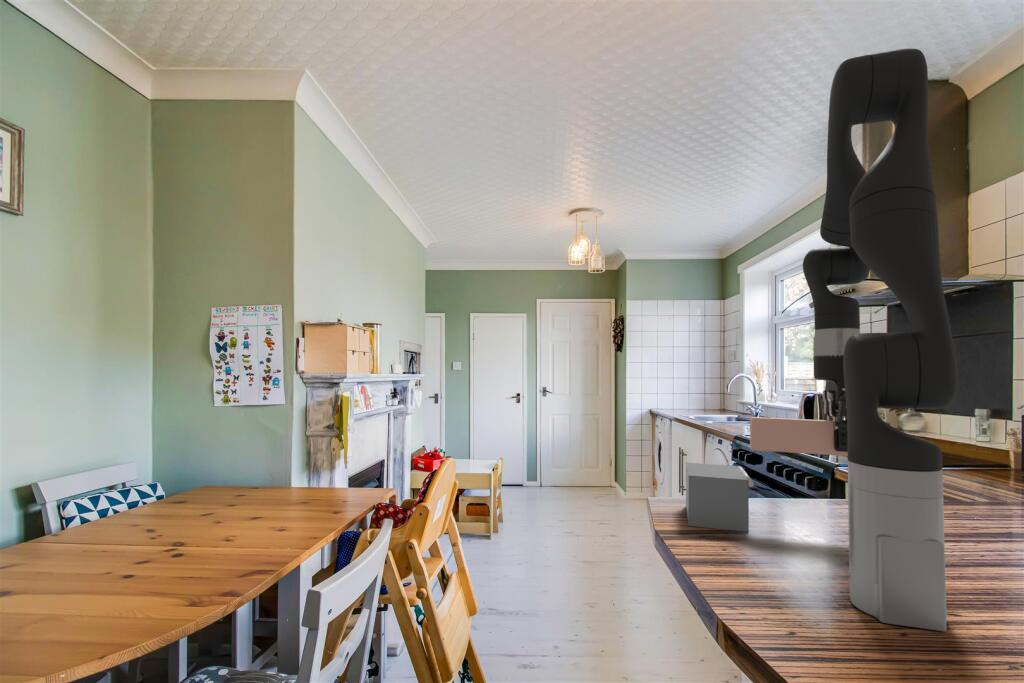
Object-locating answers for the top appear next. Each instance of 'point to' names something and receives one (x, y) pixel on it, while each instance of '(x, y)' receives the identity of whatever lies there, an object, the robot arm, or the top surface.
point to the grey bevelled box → (717, 496)
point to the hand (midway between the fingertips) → (838, 449)
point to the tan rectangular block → (793, 436)
